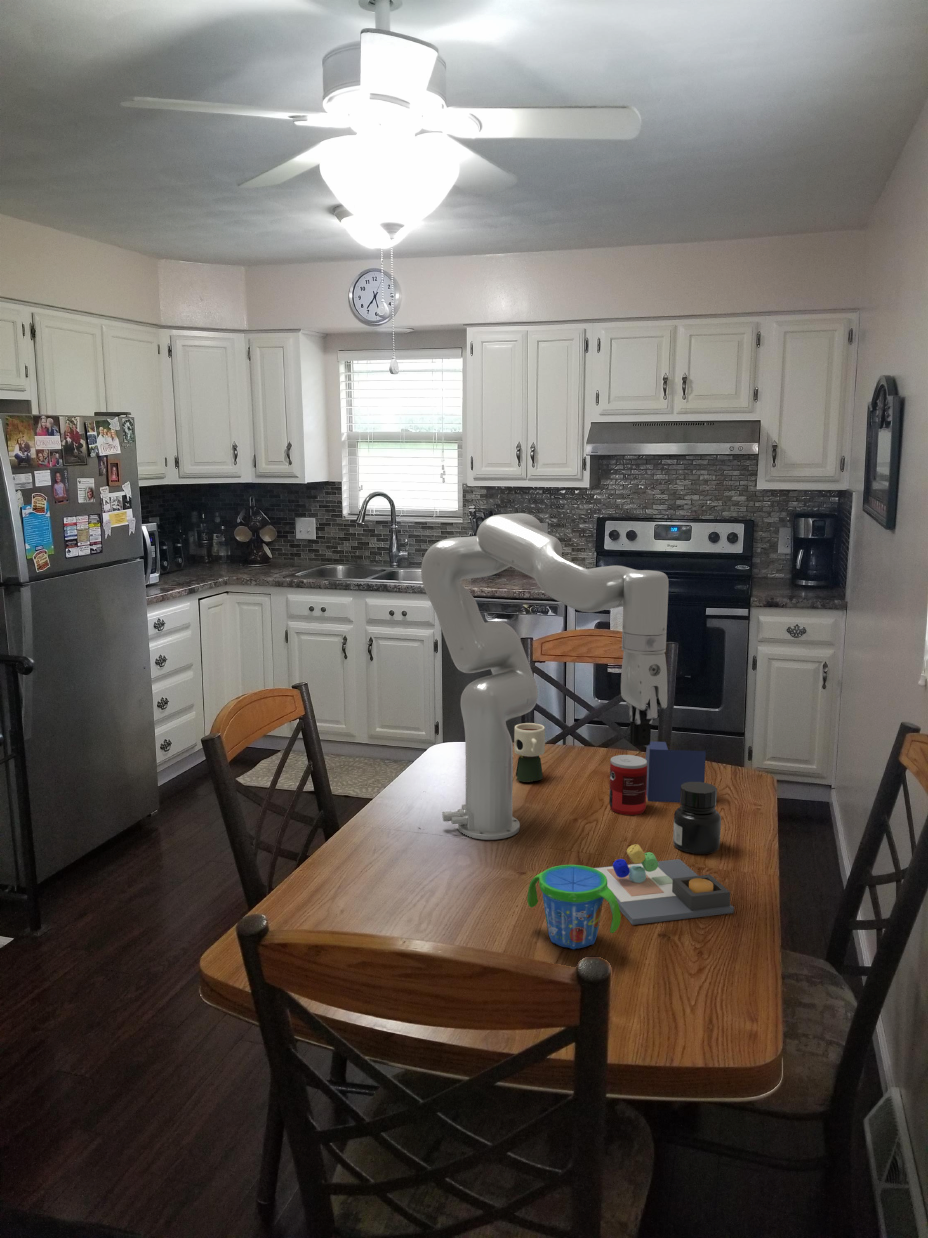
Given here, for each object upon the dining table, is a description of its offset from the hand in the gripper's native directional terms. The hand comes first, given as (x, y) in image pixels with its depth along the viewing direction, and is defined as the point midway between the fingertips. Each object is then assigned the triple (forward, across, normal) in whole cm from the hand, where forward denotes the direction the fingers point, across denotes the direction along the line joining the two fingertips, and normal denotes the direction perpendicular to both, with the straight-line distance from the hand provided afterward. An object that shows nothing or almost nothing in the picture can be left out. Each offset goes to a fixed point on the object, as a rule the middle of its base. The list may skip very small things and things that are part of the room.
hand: (639, 744), depth 167 cm
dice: (+24, -4, +2) cm, 24 cm away
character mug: (+25, +55, +3) cm, 60 cm away
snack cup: (+25, -19, +19) cm, 37 cm away
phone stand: (+25, +39, -26) cm, 53 cm away
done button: (+23, -13, -6) cm, 27 cm away
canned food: (+25, +32, -12) cm, 42 cm away
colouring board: (+25, -7, -1) cm, 26 cm away
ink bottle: (+25, +10, -17) cm, 32 cm away
